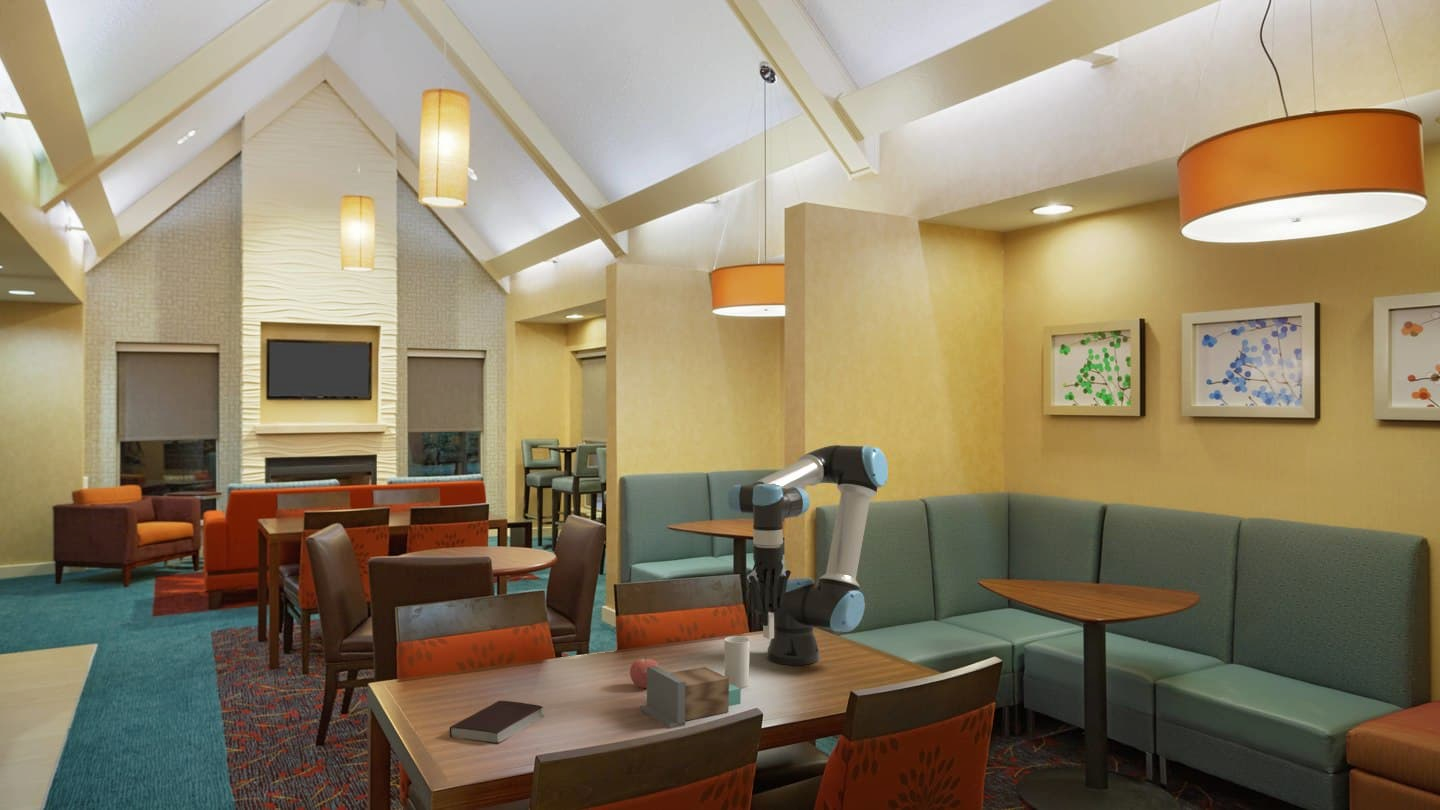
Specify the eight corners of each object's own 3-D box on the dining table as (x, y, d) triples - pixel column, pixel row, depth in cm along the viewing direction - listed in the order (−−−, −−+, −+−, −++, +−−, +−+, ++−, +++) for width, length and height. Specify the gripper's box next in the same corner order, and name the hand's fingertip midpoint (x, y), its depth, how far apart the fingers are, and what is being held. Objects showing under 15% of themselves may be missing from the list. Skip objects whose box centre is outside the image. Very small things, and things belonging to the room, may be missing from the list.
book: (448, 739, 198) (448, 724, 198) (498, 711, 216) (498, 697, 216) (497, 747, 193) (497, 732, 193) (544, 718, 212) (544, 704, 212)
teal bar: (731, 700, 225) (731, 684, 225) (740, 705, 222) (740, 688, 222) (683, 709, 218) (683, 693, 218) (691, 714, 214) (691, 697, 214)
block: (704, 698, 225) (704, 666, 225) (728, 711, 215) (728, 678, 215) (662, 707, 218) (662, 674, 218) (685, 720, 209) (685, 686, 209)
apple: (663, 685, 236) (664, 654, 236) (650, 693, 229) (650, 662, 229) (639, 681, 239) (639, 651, 239) (624, 689, 232) (625, 658, 232)
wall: (654, 706, 219) (654, 665, 219) (685, 724, 206) (685, 681, 206) (639, 709, 217) (639, 667, 217) (669, 728, 204) (670, 684, 204)
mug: (753, 687, 235) (754, 641, 235) (730, 690, 232) (730, 643, 232) (737, 676, 244) (737, 632, 244) (714, 679, 241) (715, 634, 242)
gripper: (779, 540, 235) (780, 630, 235) (738, 545, 228) (739, 638, 228) (797, 544, 228) (798, 636, 229) (755, 550, 221) (756, 645, 222)
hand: (768, 637), depth 229 cm, fingers closed
